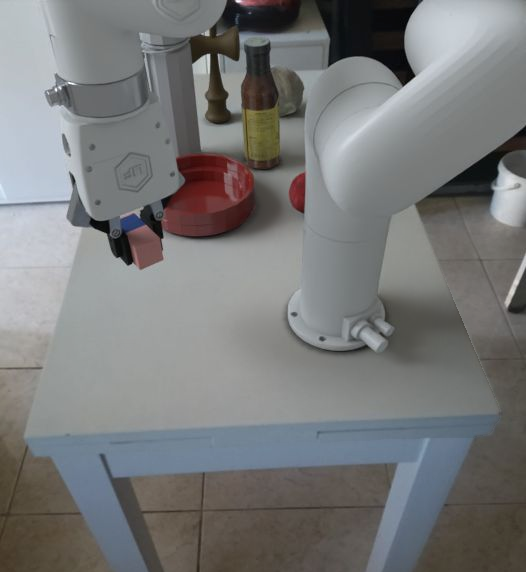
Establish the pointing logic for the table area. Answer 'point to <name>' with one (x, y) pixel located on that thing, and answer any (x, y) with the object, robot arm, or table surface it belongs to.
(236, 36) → the kendama
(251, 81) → the sauce bottle
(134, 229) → the eraser
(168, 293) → the table surface
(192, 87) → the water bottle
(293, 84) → the garlic bulb
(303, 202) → the onion
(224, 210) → the bowl
